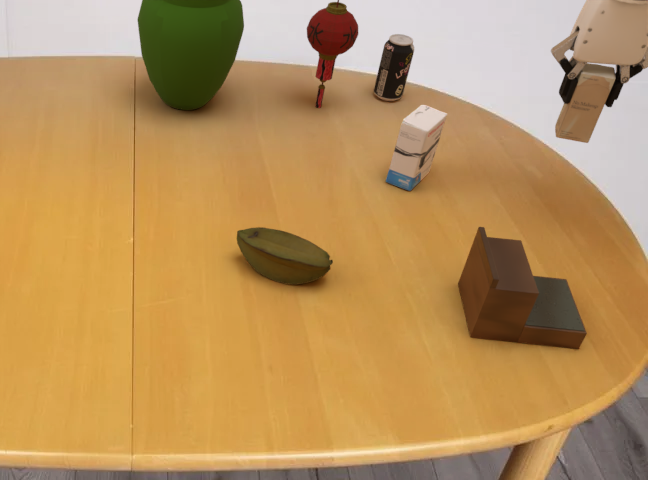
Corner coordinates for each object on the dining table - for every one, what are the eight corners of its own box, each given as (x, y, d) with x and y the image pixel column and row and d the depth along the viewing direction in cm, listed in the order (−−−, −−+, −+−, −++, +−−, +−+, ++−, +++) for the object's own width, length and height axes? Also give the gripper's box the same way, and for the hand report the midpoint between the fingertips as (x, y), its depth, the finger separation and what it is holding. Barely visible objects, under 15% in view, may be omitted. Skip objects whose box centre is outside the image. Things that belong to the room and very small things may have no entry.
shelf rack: (559, 294, 131) (586, 237, 124) (578, 349, 122) (609, 290, 115) (457, 283, 132) (478, 226, 124) (470, 337, 123) (493, 278, 116)
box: (555, 138, 139) (579, 72, 131) (554, 125, 142) (578, 60, 134) (590, 143, 138) (616, 77, 130) (588, 131, 141) (614, 65, 133)
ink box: (410, 192, 149) (428, 131, 141) (384, 182, 152) (400, 121, 144) (430, 172, 155) (449, 112, 147) (405, 162, 157) (421, 102, 149)
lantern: (319, 90, 176) (348, -65, 155) (352, 110, 170) (387, -48, 150) (284, 102, 172) (309, -57, 151) (316, 123, 166) (347, -39, 146)
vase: (132, 123, 163) (136, -8, 146) (136, 75, 177) (141, -49, 161) (236, 129, 163) (252, -1, 146) (232, 80, 177) (247, -43, 161)
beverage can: (402, 92, 177) (417, 35, 168) (400, 105, 173) (415, 47, 164) (374, 87, 178) (388, 30, 170) (371, 100, 174) (384, 42, 166)
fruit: (266, 301, 127) (272, 266, 122) (230, 254, 135) (235, 218, 130) (334, 285, 130) (343, 250, 126) (295, 239, 138) (302, 204, 134)
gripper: (685, -22, 126) (634, 94, 138) (563, -30, 127) (523, 86, 139) (703, -2, 120) (649, 117, 133) (576, -11, 122) (533, 108, 134)
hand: (585, 100), depth 136 cm, fingers closed on box, 5 cm apart
